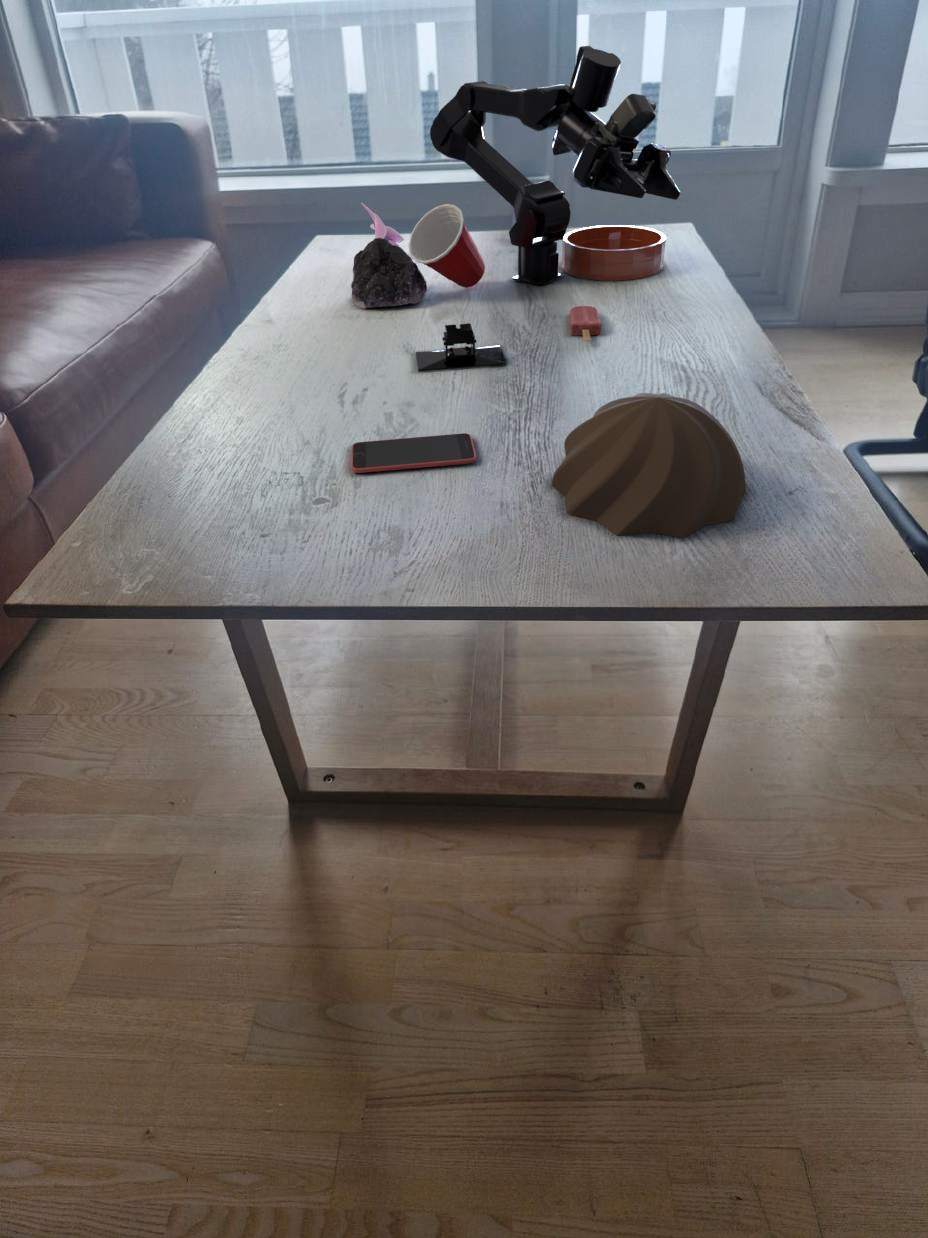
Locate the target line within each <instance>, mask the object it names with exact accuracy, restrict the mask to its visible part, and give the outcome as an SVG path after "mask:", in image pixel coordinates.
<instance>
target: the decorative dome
mask: <svg viewBox="0 0 928 1238" xmlns="http://www.w3.org/2000/svg"><path fill="white" fill-rule="evenodd" d="M563 447H564V453H565V458H564V459H563V460H562V462H561V463H560V465H558V467H557V468H556V470H555V471H554V472H553V473H554V474H553V476H552V480H551V486H552V487H553V489H554V490H556V491H557V492H559V494H561V495H562V496H563V497H564V498H565V513H566V514H568V515H569V516H574V517H578V518H582V519H586V520H591V521H594V522H597V523H598V524H600V525H601V526H603V527H604V528H605V529H607V530H608V531H610V532H611V533H613V534H614V535H615V536H628V535H629V536H630V535H638V534H639V535H640V534H648V533H649V534H655V535H657V534H658V535H661V536H662V535H663V536H668V537H675V538H688V537H689V536H691V535H692V534H694V533H695V532H697V531H698V530H700V529H701V528H703V527H704V526H709V525H715V524H716V525H717V524H721V523H727V522H732V521H734V520H735V518H736V515H737V512H738V508H739V505H740V501H741V497H742V496H743V495H745V494H746V493H747V485H746V484H747V483H746V475H745V474H746V473H745V469H744V465H743V461H742V457H741V455H740V452H739V449H738V447H737V445H736V443H735V442H734V439H733V438H732V436H731V435H730V433H729V432H728V431H727V429H726V428H725V427H724V426H723V424H722V423H721V422H720V421H719V420H718V419H717V418H716V417H715V416H714V414H713V415H712V413H711V412H709V411H708V410H707V409H706V408H704V407H703V406H702V405H700V404H698V403H697V402H694V401H693V400H690V399H687V398H684V397H680V396H679V397H678V396H674V395H672V394H669V393H666V392H662V393H661V392H660V393H650V392H640V393H637V394H634V395H632V396H627V397H622V398H617V399H615V400H611V401H609V402H607V403H605V404H603V405H602V406H601V407H599V408H598V409H597V410H596V411H595V413H594V414H593V416H592V417H590V418H589V419H587V420H585V421H584V422H582V423H581V424H579V425H577V427H575V428H574V429H573V430H571V431H570V433H568V434H567V435H566V438H565V440H564V445H563Z"/></svg>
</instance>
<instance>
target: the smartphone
mask: <svg viewBox="0 0 928 1238" xmlns="http://www.w3.org/2000/svg"><path fill="white" fill-rule="evenodd" d="M350 457H351V458H350V459H351V461H350V469H351V471H352V472H353V473H355V474H363V473H374V472H387V471H398V470H410V469H421V468H431V467H432V468H433V467H444V466H455V465H456V466H457V465H466V464H467V465H468V464H473V463H475V462H476V460H477V453H476V449H475V445H474V441H473V437H472V435H471V434H469V433H464V432H463V433H452V434H440V435H439V434H438V435H428V436H427V435H426V436H416V437H403V438H392V439H381V440H369V441H358V442H355V443H353V444H352V445H351V455H350Z"/></svg>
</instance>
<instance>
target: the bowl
mask: <svg viewBox="0 0 928 1238" xmlns="http://www.w3.org/2000/svg"><path fill="white" fill-rule="evenodd" d="M666 243H667V237H666V235H665V234H664V233H663V232H661V231H658V230H656V229H654V228H649V227H643V226H637V225H636V226H635V225H621V224H619V225H613V224H612V225H595V226H589V227H583V228H579V229H574V230H572V231H569V232H566V233H565V236H564V239H563V240H562V249H561V250H562V251H561V254H562V256H561V268H562V271H563V272H565V273H566V274H568V275H570V276H572V277H576V278H580V279H584V280H585V279H586V280H593V281H606V282H607V281H608V282H609V281H611V282H613V281H614V282H615V281H616V282H617V281H631V280H632V281H633V280H638V279H643V278H647V277H651V276H653V275H657V274H658V273H659V272H660V271H662V269H663V265H664V258H665V249H666Z"/></svg>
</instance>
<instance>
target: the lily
mask: <svg viewBox="0 0 928 1238" xmlns="http://www.w3.org/2000/svg"><path fill="white" fill-rule="evenodd" d="M360 203H361V205H362V207H364V209H365V210H366V211H367V212H368V214H369V216H370V217H371V218H372V220H373V223H371V224H370V225H369V227H370V228H371V229H372V230H373V231H374V235H375V236H374V237H375V238H382V239H388V240H389V242H390V243H391V244H392V245H396V246H398V247H400V248H402V247H401V246H400V245H399V244H400V243H402V242H404V241H405V238H404V237H403V235H401V234H400V232H398V231H397V230H396V229H394V228H392V226H389V225H386V224H385V223H384V222H383V220H382V219H381V218H380V216H379V215H378V214H377V213H374V212H373V211H372V210H371V209H370V208H369V207H368V206H367V205H365V203H363V202H360Z"/></svg>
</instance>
